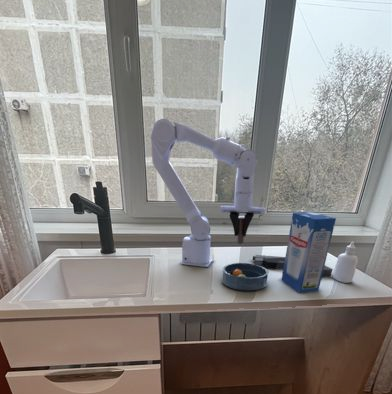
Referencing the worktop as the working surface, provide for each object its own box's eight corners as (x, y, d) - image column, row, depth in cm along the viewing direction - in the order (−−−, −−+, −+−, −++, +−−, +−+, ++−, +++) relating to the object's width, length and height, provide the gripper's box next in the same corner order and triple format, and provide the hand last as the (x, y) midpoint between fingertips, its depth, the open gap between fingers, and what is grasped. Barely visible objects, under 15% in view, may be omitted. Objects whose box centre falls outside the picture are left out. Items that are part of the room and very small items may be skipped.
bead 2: (239, 270, 82) (246, 273, 84) (233, 277, 84) (240, 280, 86) (243, 278, 80) (250, 281, 82) (236, 285, 82) (243, 287, 84)
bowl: (217, 288, 82) (218, 274, 80) (226, 273, 93) (227, 261, 91) (264, 294, 79) (266, 280, 77) (267, 278, 90) (269, 265, 88)
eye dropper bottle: (344, 277, 92) (354, 239, 87) (353, 283, 88) (365, 244, 82) (330, 276, 92) (340, 239, 86) (339, 283, 87) (350, 244, 82)
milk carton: (281, 280, 89) (292, 212, 79) (298, 278, 90) (312, 212, 81) (299, 292, 81) (315, 219, 71) (318, 290, 82) (336, 218, 72)
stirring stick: (235, 243, 100) (237, 217, 94) (238, 240, 101) (239, 215, 96) (242, 244, 99) (244, 218, 93) (244, 241, 100) (246, 216, 95)
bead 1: (236, 282, 88) (229, 275, 88) (243, 276, 88) (236, 269, 88) (237, 279, 85) (231, 272, 85) (245, 273, 85) (238, 266, 86)
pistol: (334, 272, 89) (325, 258, 102) (252, 265, 93) (253, 253, 106) (333, 279, 90) (324, 264, 103) (251, 272, 94) (252, 258, 107)
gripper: (268, 192, 92) (263, 234, 99) (224, 190, 96) (222, 231, 103) (265, 194, 87) (260, 239, 93) (219, 192, 90) (217, 236, 97)
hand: (240, 235), depth 98 cm, fingers closed on stirring stick, 2 cm apart
